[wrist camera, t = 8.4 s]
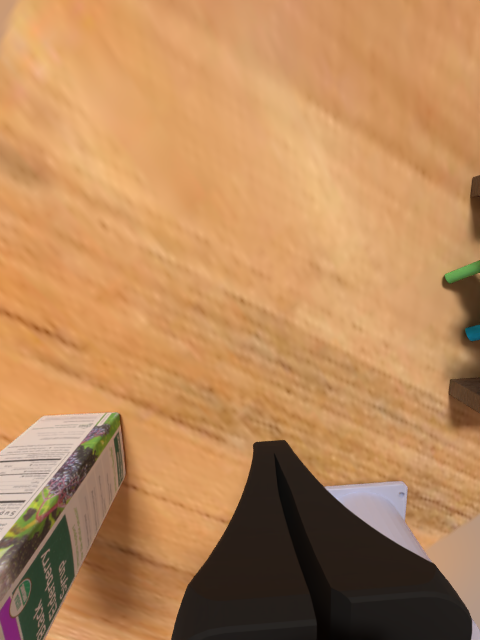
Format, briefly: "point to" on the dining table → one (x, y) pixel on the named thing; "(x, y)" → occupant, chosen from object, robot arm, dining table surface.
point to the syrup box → (52, 513)
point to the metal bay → (468, 390)
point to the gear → (475, 331)
